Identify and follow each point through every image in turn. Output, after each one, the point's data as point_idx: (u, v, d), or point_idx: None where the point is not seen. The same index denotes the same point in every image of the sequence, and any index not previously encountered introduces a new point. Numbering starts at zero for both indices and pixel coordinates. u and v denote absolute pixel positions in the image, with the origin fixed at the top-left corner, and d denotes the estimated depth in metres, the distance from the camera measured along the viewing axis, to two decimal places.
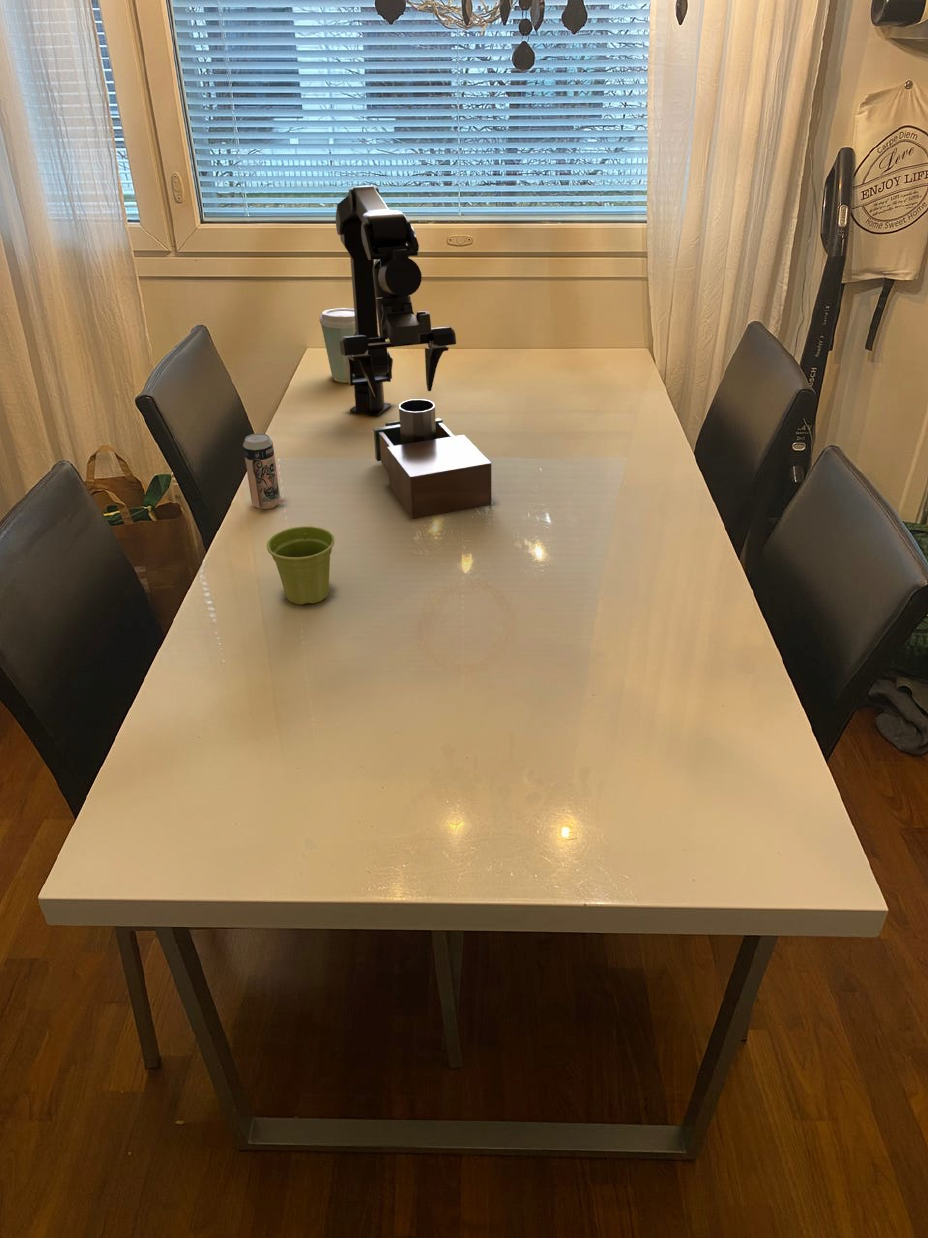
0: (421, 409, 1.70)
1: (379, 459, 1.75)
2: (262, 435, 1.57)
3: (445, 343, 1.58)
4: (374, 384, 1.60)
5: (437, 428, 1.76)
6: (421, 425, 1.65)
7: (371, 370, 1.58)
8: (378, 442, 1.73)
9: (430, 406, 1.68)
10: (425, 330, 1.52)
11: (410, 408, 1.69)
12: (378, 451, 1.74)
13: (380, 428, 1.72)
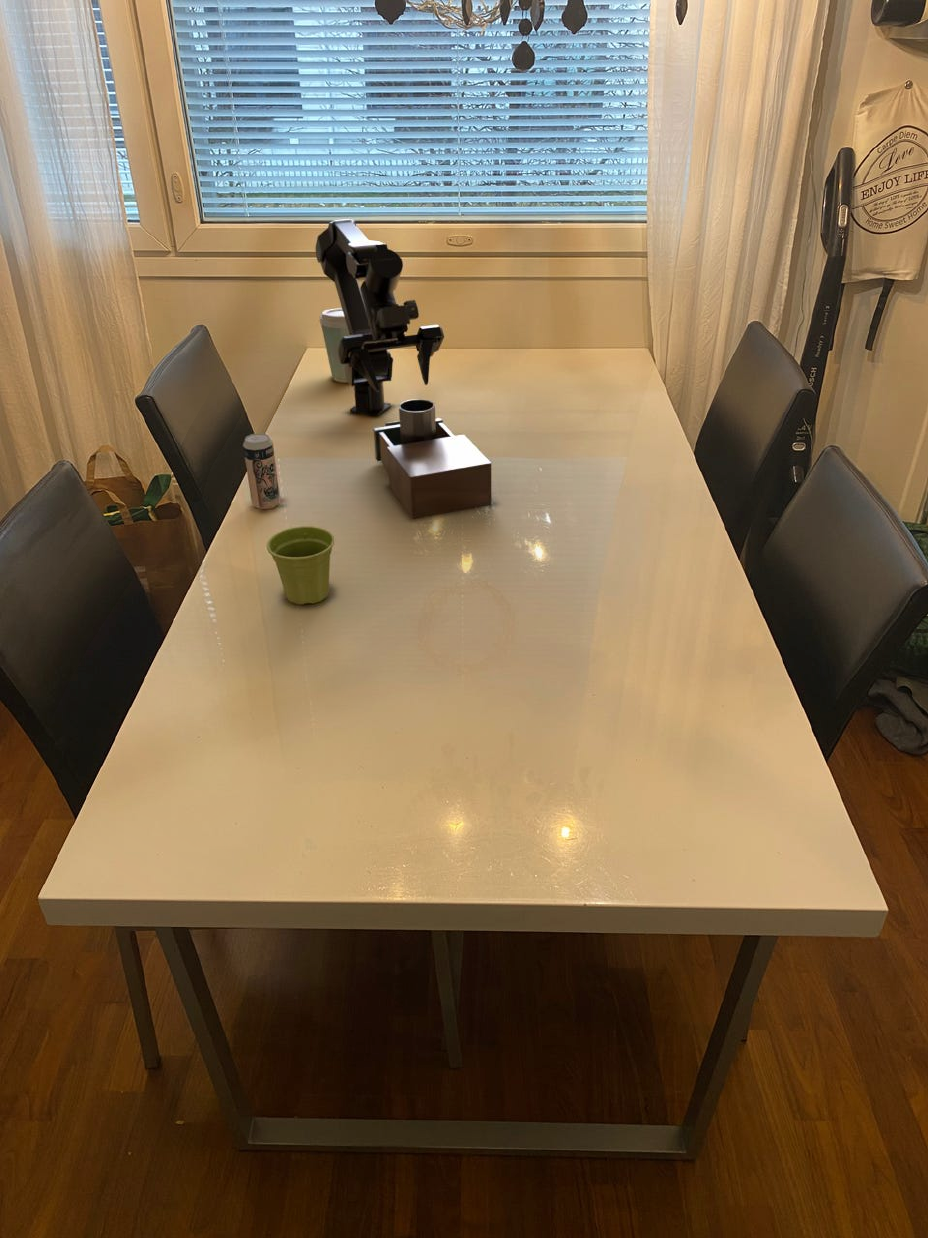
0: (421, 409, 1.70)
1: (379, 459, 1.75)
2: (262, 435, 1.57)
3: (434, 335, 1.73)
4: (374, 377, 1.70)
5: (437, 428, 1.76)
6: (421, 425, 1.65)
7: (370, 364, 1.70)
8: (378, 442, 1.73)
9: (430, 406, 1.68)
10: (413, 310, 1.67)
11: (410, 408, 1.69)
12: (378, 451, 1.74)
13: (380, 428, 1.72)
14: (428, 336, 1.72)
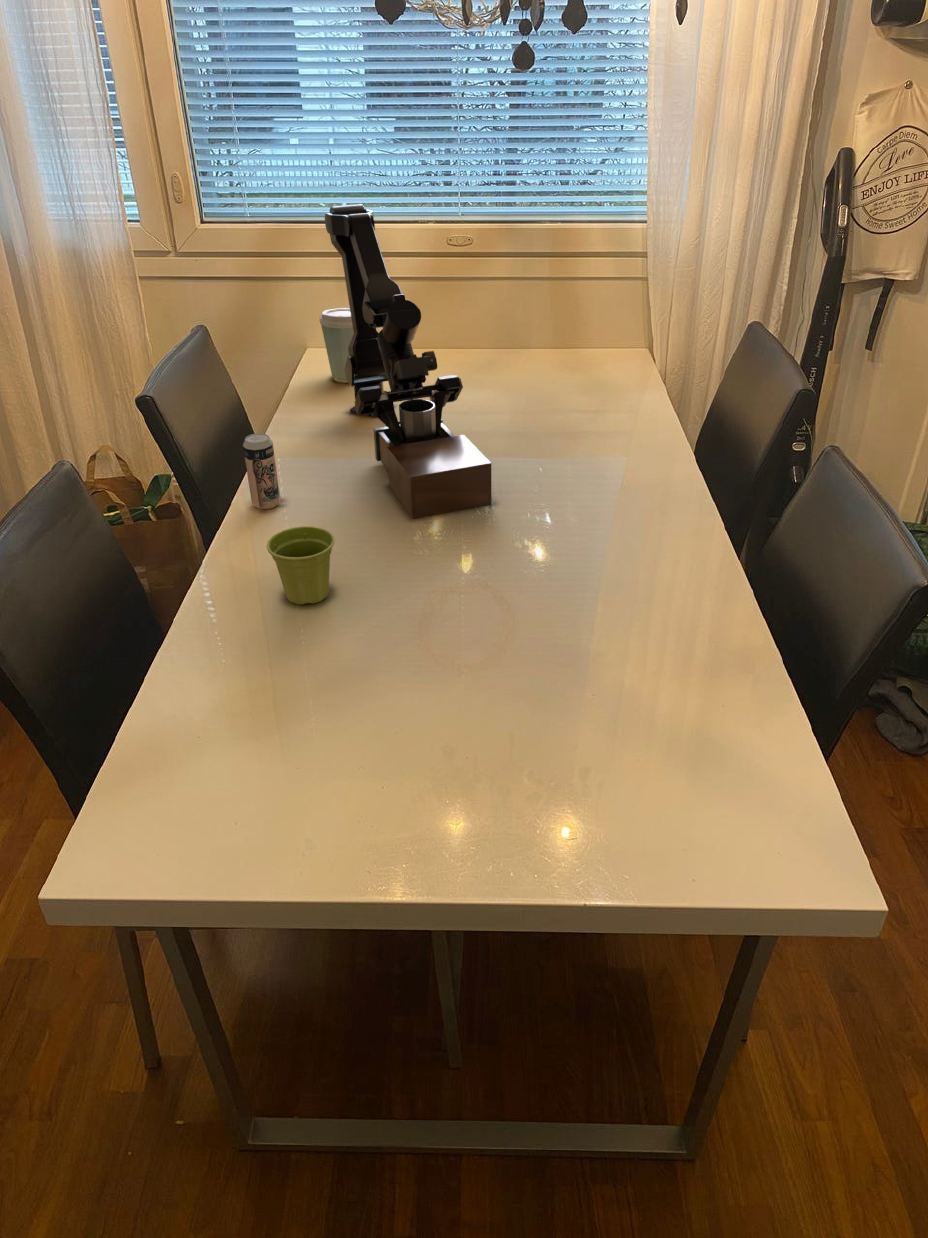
0: (421, 409, 1.70)
1: (379, 459, 1.75)
2: (262, 435, 1.57)
3: (452, 385, 1.69)
4: (399, 428, 1.67)
5: None
6: (421, 425, 1.65)
7: (394, 415, 1.67)
8: (378, 442, 1.73)
9: (430, 406, 1.68)
10: (432, 361, 1.63)
11: (410, 408, 1.69)
12: (378, 451, 1.74)
13: (380, 428, 1.72)
14: (447, 387, 1.68)
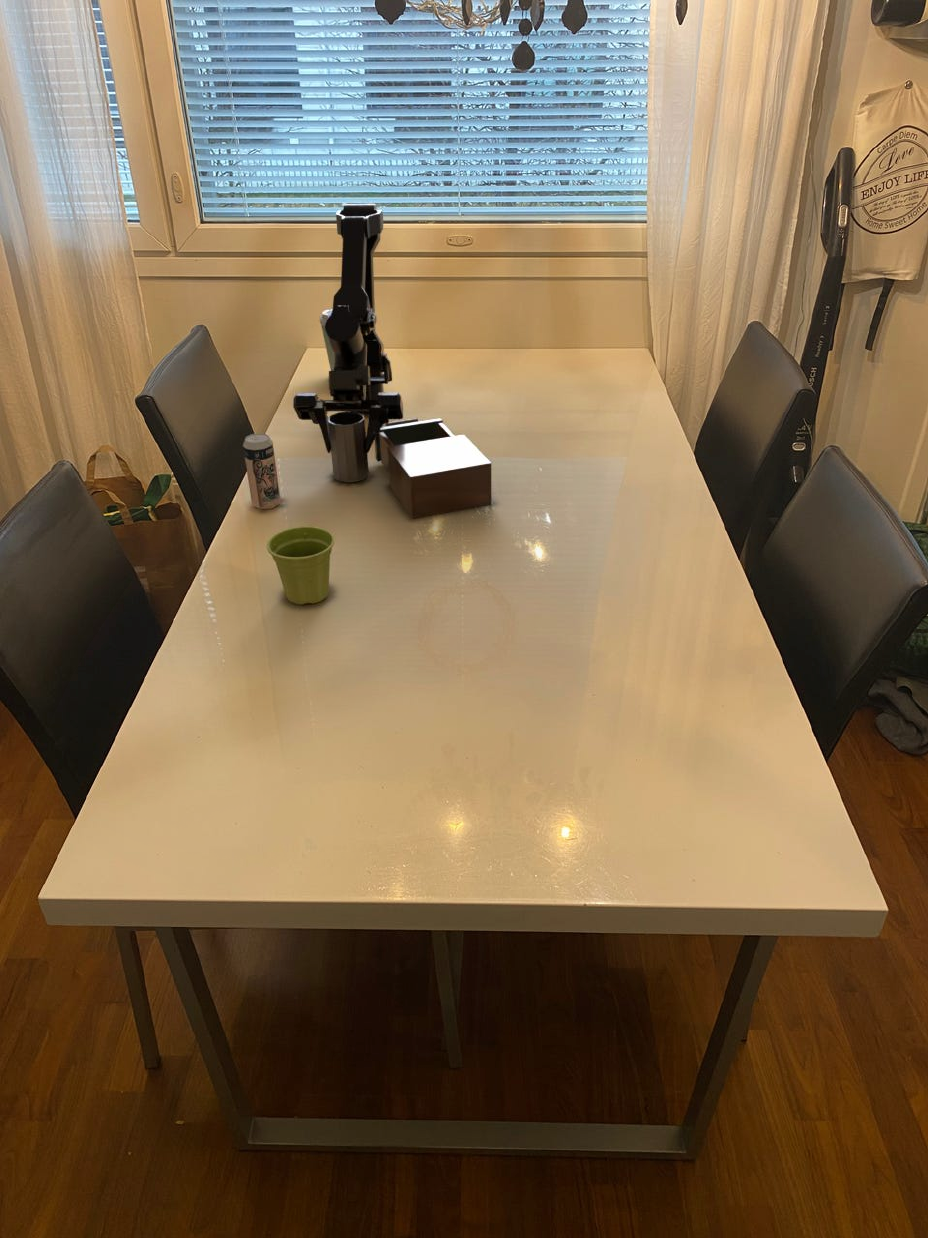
0: (357, 422, 1.68)
1: (379, 459, 1.75)
2: (262, 435, 1.57)
3: (388, 403, 1.66)
4: (326, 438, 1.67)
5: (437, 428, 1.76)
6: (343, 438, 1.64)
7: (325, 424, 1.67)
8: (378, 442, 1.73)
9: None
10: (360, 376, 1.61)
11: (347, 420, 1.69)
12: (378, 451, 1.74)
13: None
14: (382, 404, 1.66)
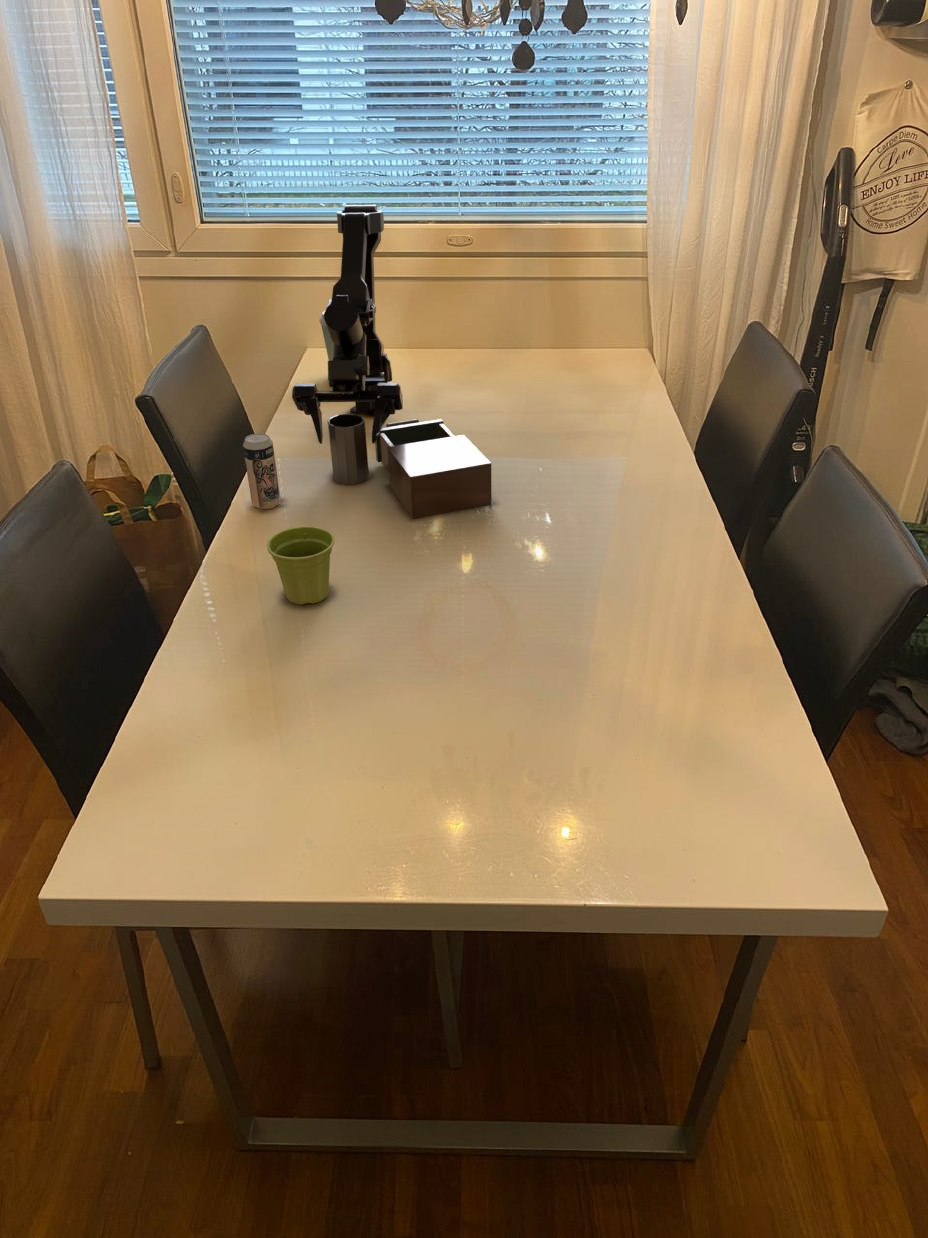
0: (357, 425, 1.69)
1: (380, 460, 1.74)
2: (262, 435, 1.57)
3: (388, 393, 1.65)
4: (318, 429, 1.66)
5: (438, 429, 1.75)
6: (343, 440, 1.64)
7: (316, 415, 1.66)
8: (379, 443, 1.73)
9: None
10: (359, 366, 1.60)
11: (347, 422, 1.69)
12: (379, 452, 1.74)
13: (381, 429, 1.72)
14: (381, 394, 1.65)
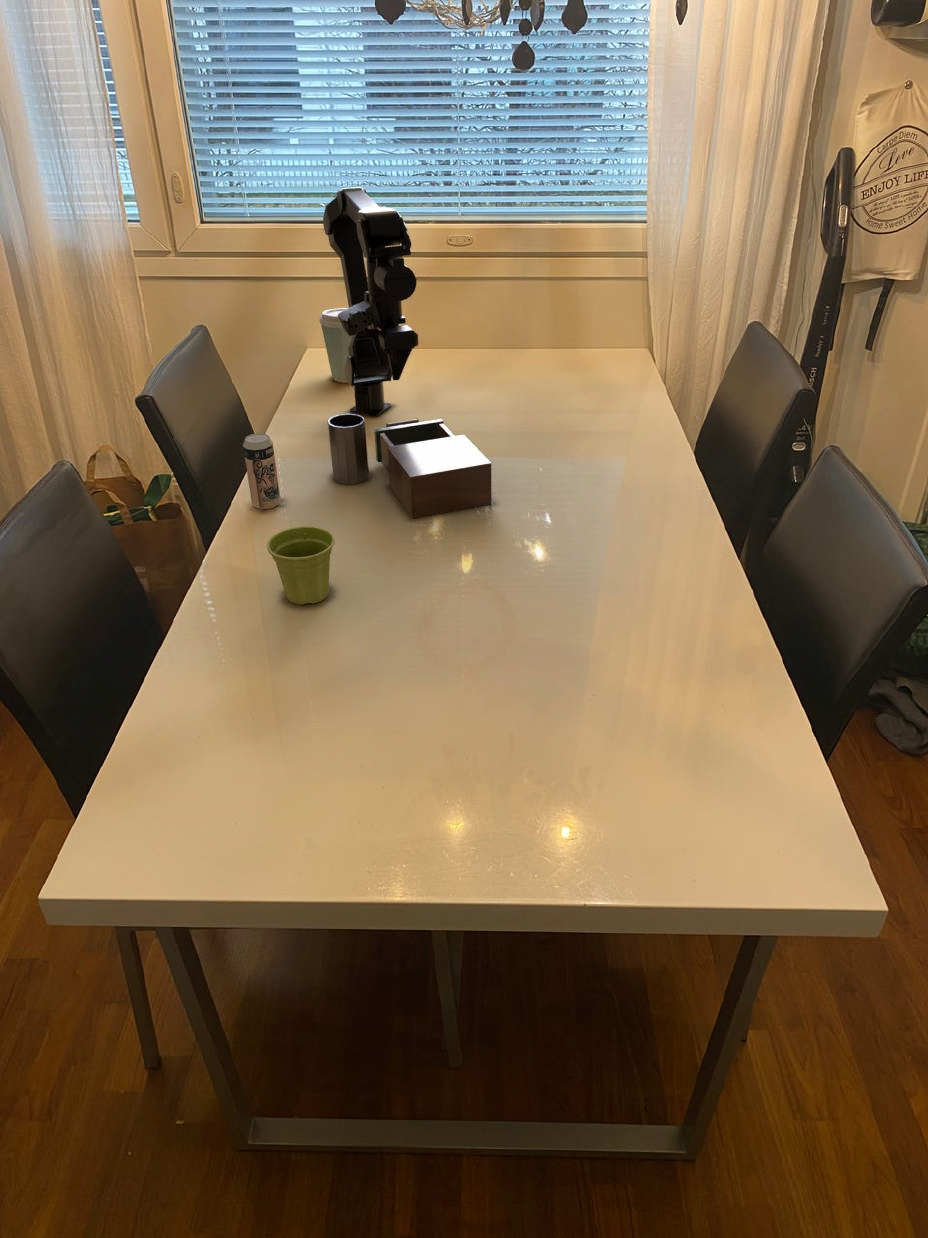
0: (357, 425, 1.69)
1: (380, 460, 1.74)
2: (262, 435, 1.57)
3: (382, 345, 1.67)
4: (377, 355, 1.80)
5: (438, 429, 1.75)
6: (343, 440, 1.64)
7: (374, 343, 1.79)
8: (379, 443, 1.73)
9: None
10: (347, 327, 1.68)
11: (347, 422, 1.69)
12: (379, 452, 1.74)
13: (381, 429, 1.72)
14: (380, 344, 1.68)
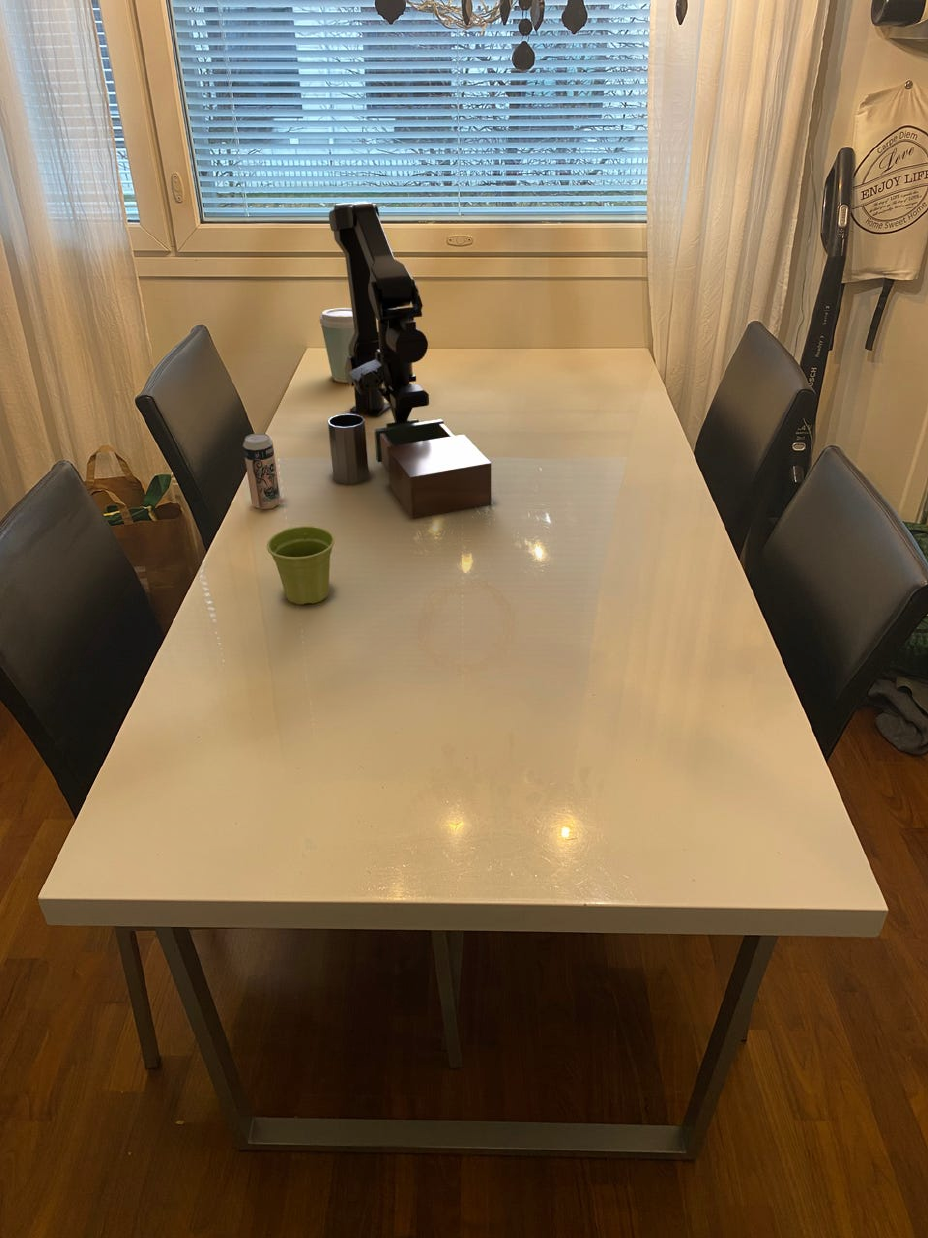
0: (357, 425, 1.69)
1: (380, 460, 1.74)
2: (262, 435, 1.57)
3: (393, 404, 1.69)
4: (394, 417, 1.79)
5: (438, 429, 1.75)
6: (343, 440, 1.64)
7: (390, 405, 1.77)
8: (379, 443, 1.73)
9: None
10: (358, 386, 1.69)
11: (347, 422, 1.69)
12: (379, 452, 1.74)
13: (381, 429, 1.72)
14: (391, 403, 1.70)
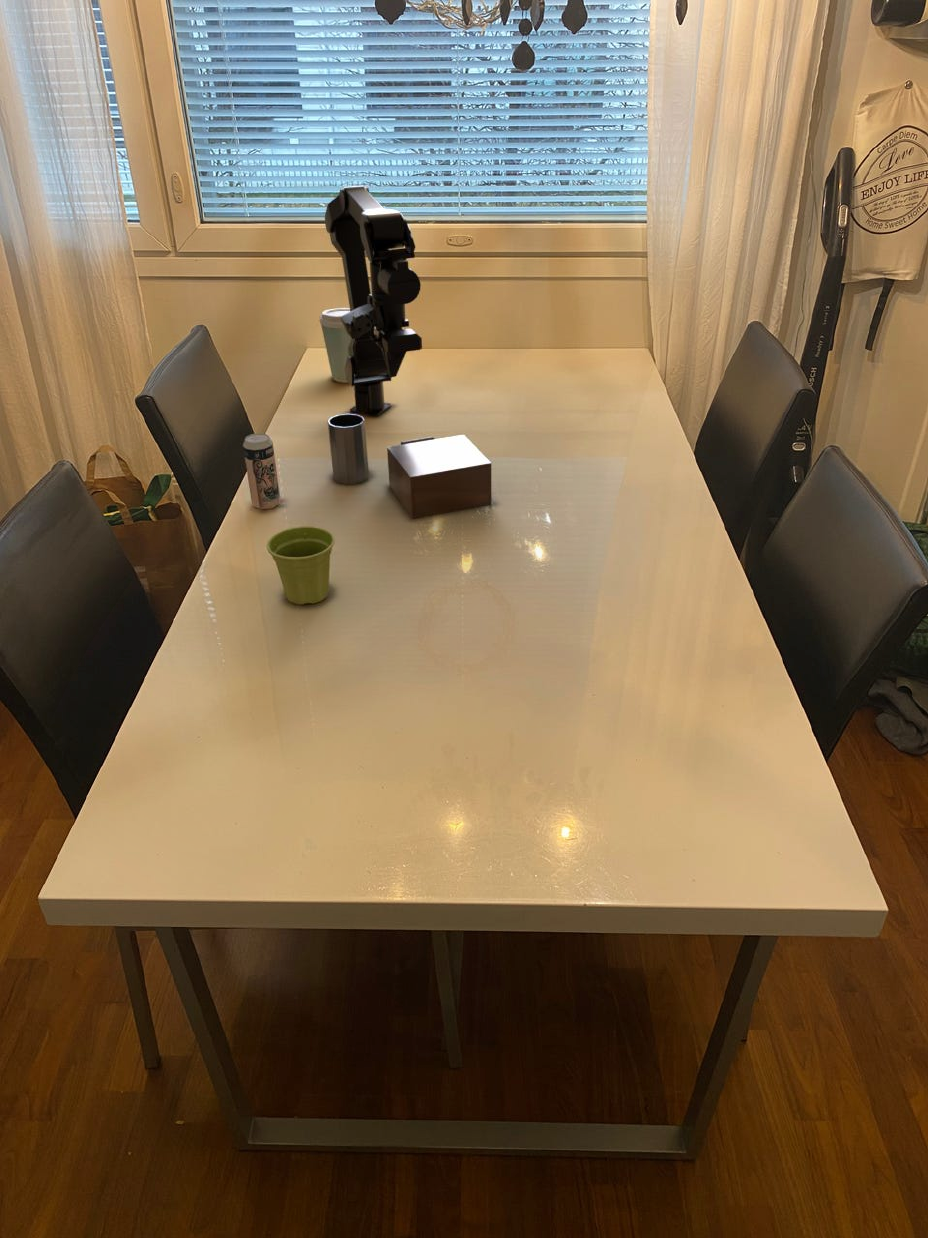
0: (357, 425, 1.69)
1: None
2: (262, 435, 1.57)
3: (385, 348, 1.66)
4: (386, 364, 1.76)
5: None
6: (343, 440, 1.64)
7: (383, 352, 1.75)
8: None
9: None
10: (350, 330, 1.67)
11: (347, 422, 1.69)
12: None
13: None
14: (384, 347, 1.67)
